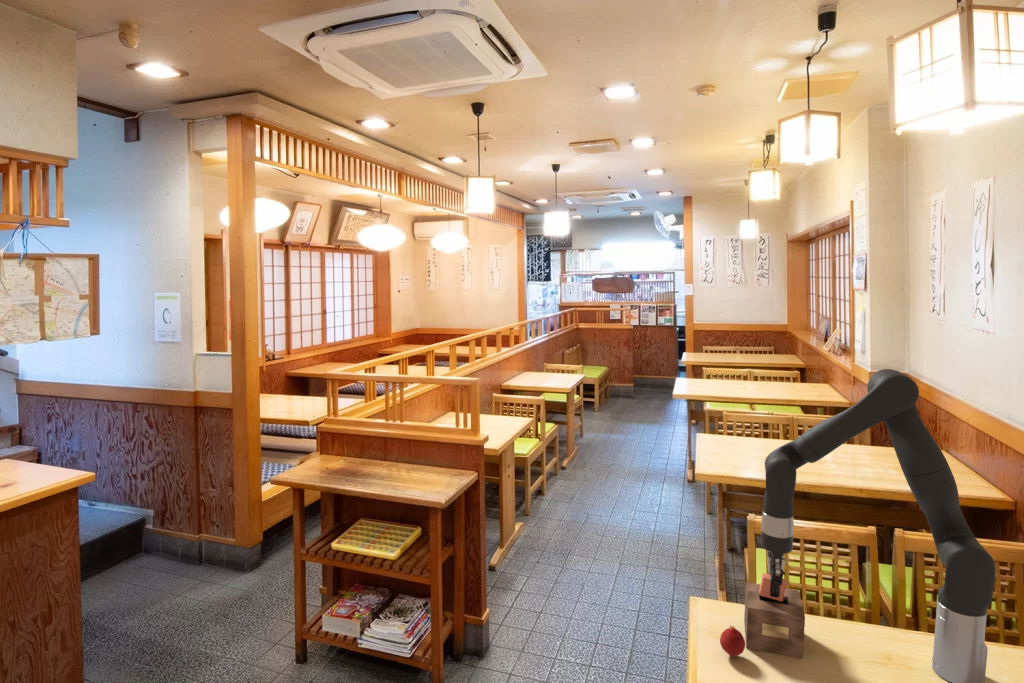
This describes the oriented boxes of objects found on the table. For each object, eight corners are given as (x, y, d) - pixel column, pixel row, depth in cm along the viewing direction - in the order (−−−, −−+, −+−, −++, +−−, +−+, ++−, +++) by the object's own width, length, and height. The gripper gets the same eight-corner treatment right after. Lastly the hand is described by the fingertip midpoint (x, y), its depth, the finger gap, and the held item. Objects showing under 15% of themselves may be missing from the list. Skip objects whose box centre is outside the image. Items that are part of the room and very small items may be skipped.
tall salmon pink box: (759, 590, 155) (781, 596, 153) (759, 595, 152) (782, 601, 151) (762, 573, 154) (785, 579, 152) (763, 577, 152) (786, 583, 150)
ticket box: (796, 629, 158) (798, 590, 156) (802, 659, 145) (805, 617, 144) (744, 619, 162) (745, 582, 161) (746, 648, 150) (748, 607, 148)
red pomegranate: (740, 649, 149) (741, 619, 148) (747, 664, 144) (748, 633, 143) (717, 648, 150) (718, 618, 149) (722, 662, 144) (724, 632, 143)
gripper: (796, 543, 143) (793, 611, 145) (790, 521, 156) (787, 583, 157) (763, 539, 145) (760, 605, 147) (759, 517, 158) (756, 579, 160)
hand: (774, 594), depth 152 cm, fingers closed on tall salmon pink box, 1 cm apart
